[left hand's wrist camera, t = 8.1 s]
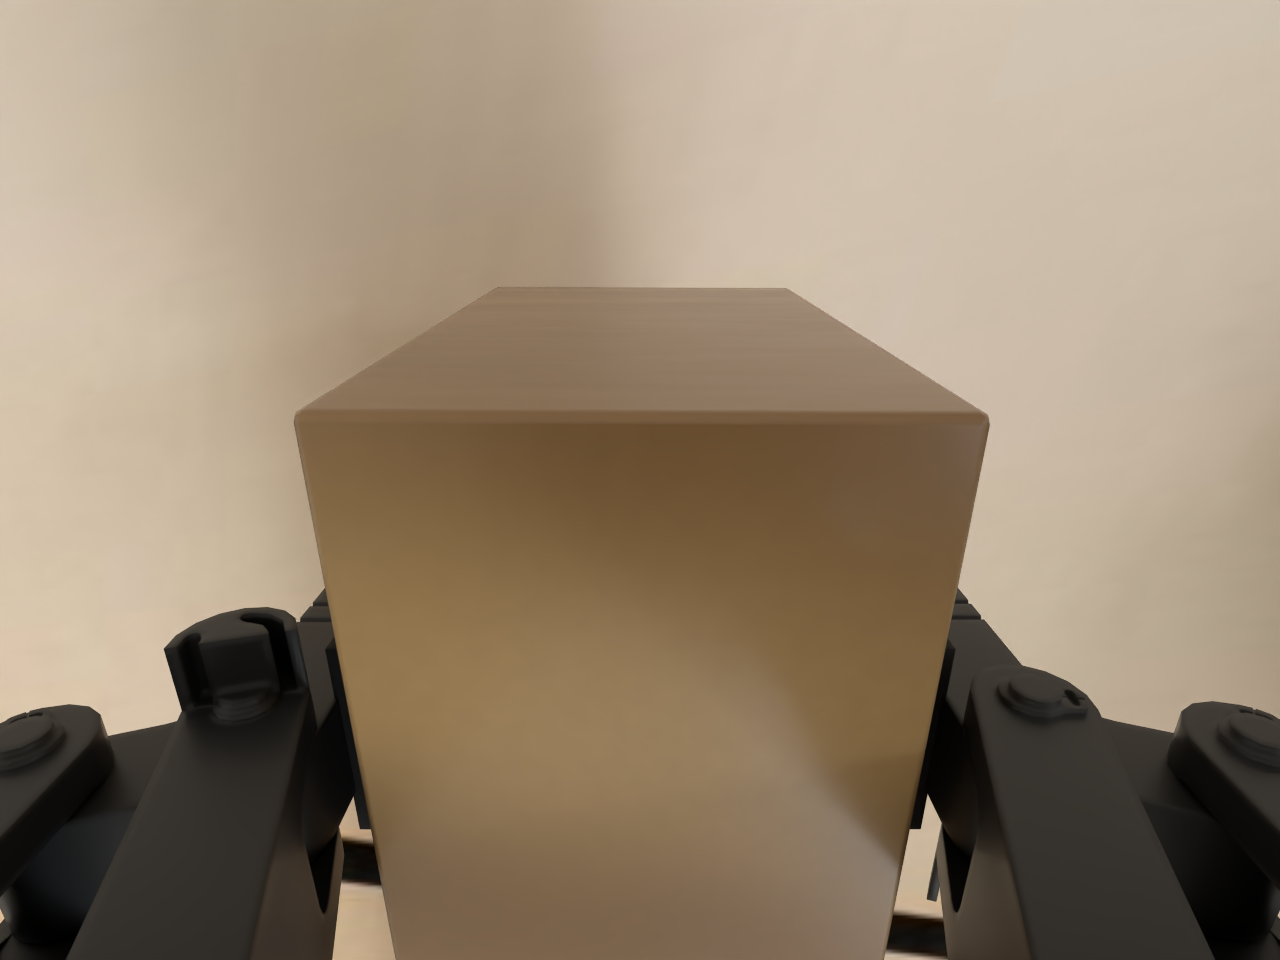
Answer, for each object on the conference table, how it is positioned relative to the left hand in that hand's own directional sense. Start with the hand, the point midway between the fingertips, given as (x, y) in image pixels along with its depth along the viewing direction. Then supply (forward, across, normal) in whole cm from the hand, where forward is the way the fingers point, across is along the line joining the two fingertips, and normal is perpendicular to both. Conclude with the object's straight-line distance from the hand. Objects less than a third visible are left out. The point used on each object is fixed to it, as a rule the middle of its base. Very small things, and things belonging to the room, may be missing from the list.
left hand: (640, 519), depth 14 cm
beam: (+1, 0, -29) cm, 29 cm away
